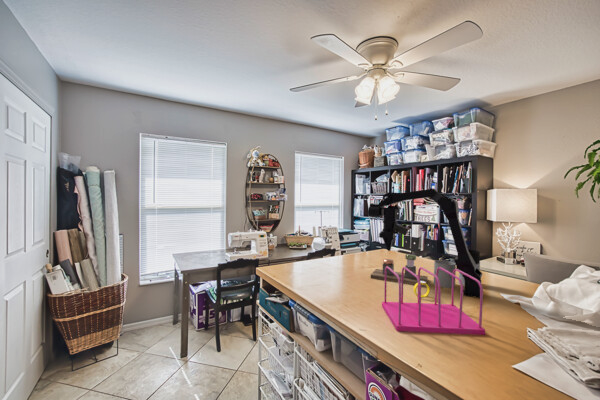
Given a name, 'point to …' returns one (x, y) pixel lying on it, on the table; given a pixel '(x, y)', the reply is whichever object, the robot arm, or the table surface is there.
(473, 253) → the glass holder
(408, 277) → the dark brown stand
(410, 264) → the olive plunger
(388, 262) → the terracotta plunger
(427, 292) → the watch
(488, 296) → the table surface
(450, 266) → the cup
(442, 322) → the file sorter
